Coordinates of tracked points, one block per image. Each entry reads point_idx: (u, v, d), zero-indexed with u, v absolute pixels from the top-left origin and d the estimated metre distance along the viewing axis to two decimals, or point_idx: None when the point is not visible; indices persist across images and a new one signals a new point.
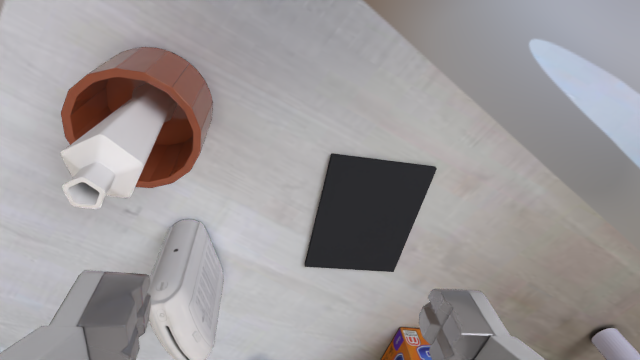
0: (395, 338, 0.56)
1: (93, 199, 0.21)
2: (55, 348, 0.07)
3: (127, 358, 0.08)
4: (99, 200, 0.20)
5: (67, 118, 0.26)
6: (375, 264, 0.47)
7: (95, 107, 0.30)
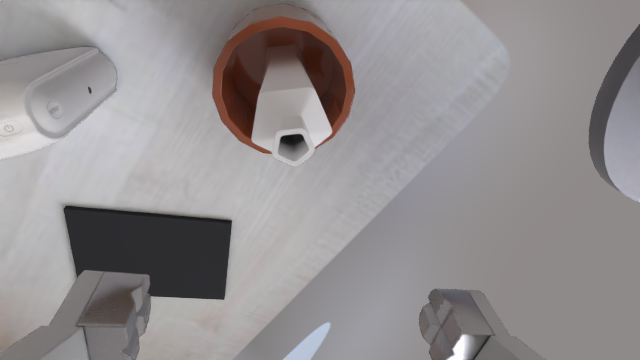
0: None
1: None
2: (56, 348, 0.07)
3: (127, 358, 0.08)
4: (284, 159, 0.18)
5: (304, 27, 0.23)
6: None
7: None
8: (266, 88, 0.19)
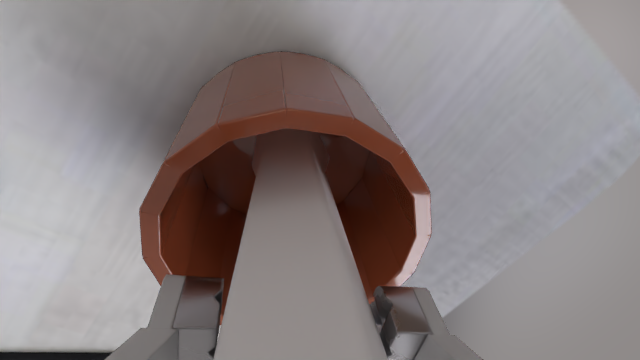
0: None
1: None
2: (159, 349, 0.07)
3: (212, 359, 0.09)
4: None
5: (337, 129, 0.10)
6: None
7: None
8: (234, 346, 0.07)
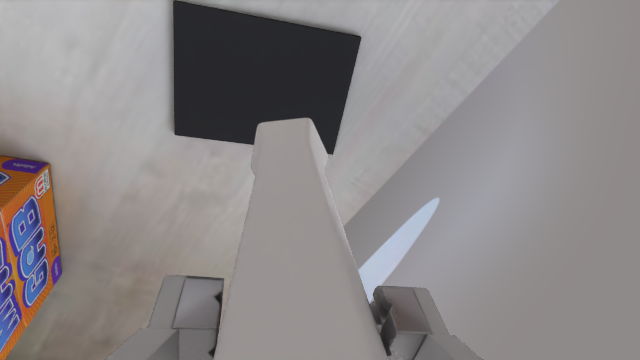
0: (21, 161, 0.35)
1: None
2: (159, 349, 0.07)
3: (212, 359, 0.09)
4: None
5: None
6: (186, 109, 0.34)
7: None
8: (234, 347, 0.07)
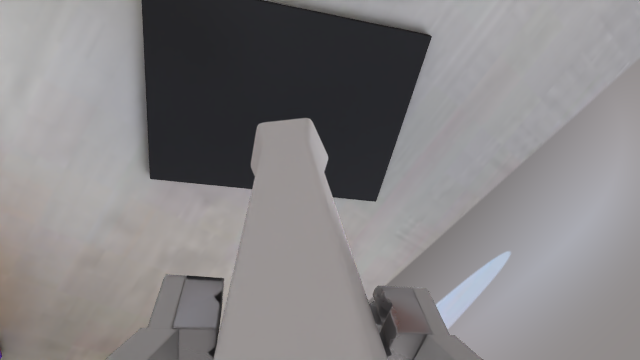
0: None
1: None
2: (159, 349, 0.07)
3: (212, 359, 0.09)
4: None
5: None
6: (166, 143, 0.23)
7: None
8: (233, 347, 0.07)
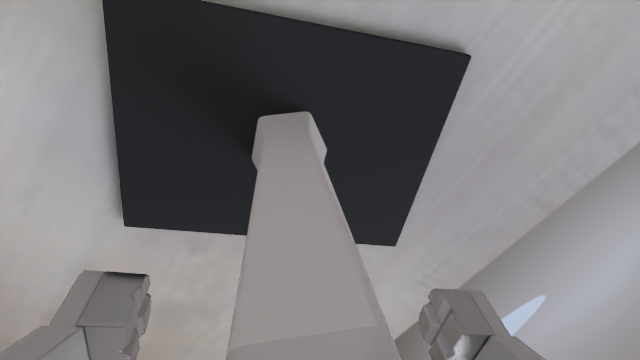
0: None
1: None
2: (56, 348, 0.07)
3: (127, 358, 0.08)
4: None
5: None
6: (142, 185, 0.19)
7: None
8: (251, 315, 0.07)
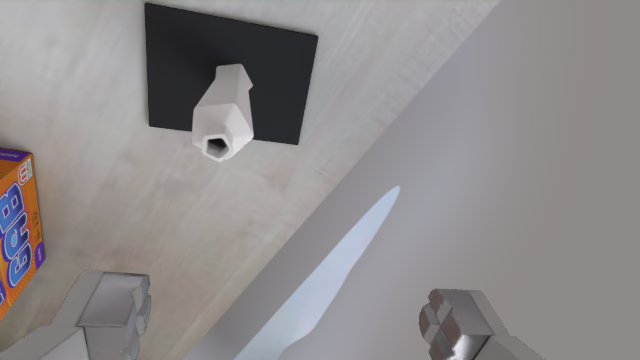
0: (5, 151, 0.37)
1: (207, 145, 0.25)
2: (55, 348, 0.07)
3: (127, 358, 0.08)
4: (211, 156, 0.24)
5: None
6: (159, 102, 0.37)
7: None
8: (200, 103, 0.26)
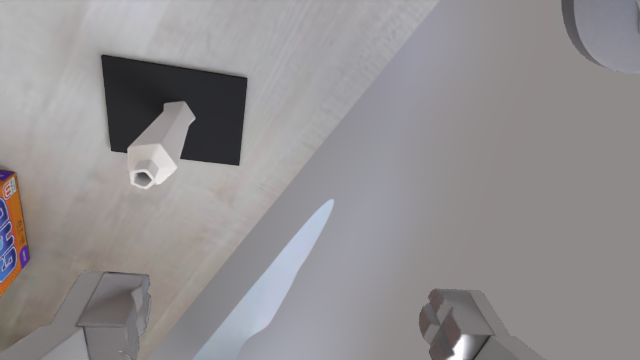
0: None
1: (135, 176, 0.32)
2: (56, 348, 0.07)
3: (127, 358, 0.08)
4: (138, 185, 0.32)
5: None
6: (118, 132, 0.45)
7: None
8: (134, 143, 0.34)
